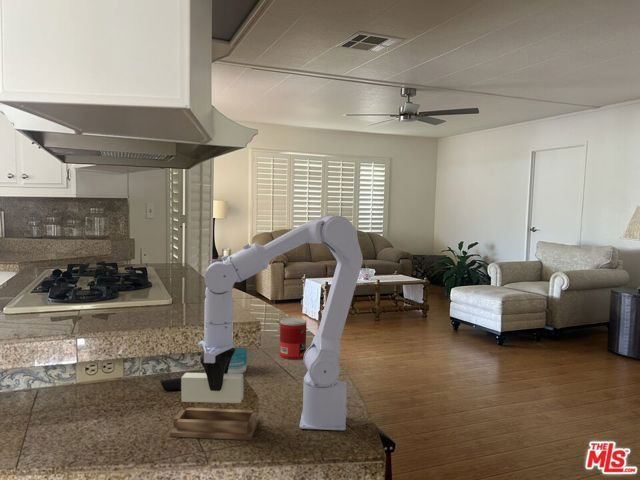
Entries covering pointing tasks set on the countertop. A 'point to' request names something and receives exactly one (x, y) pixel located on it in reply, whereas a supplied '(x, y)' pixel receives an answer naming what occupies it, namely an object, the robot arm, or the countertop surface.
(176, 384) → the electric trimmer
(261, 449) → the countertop surface
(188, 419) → the tray
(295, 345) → the canned food
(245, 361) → the pill bottle
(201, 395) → the clay strip
